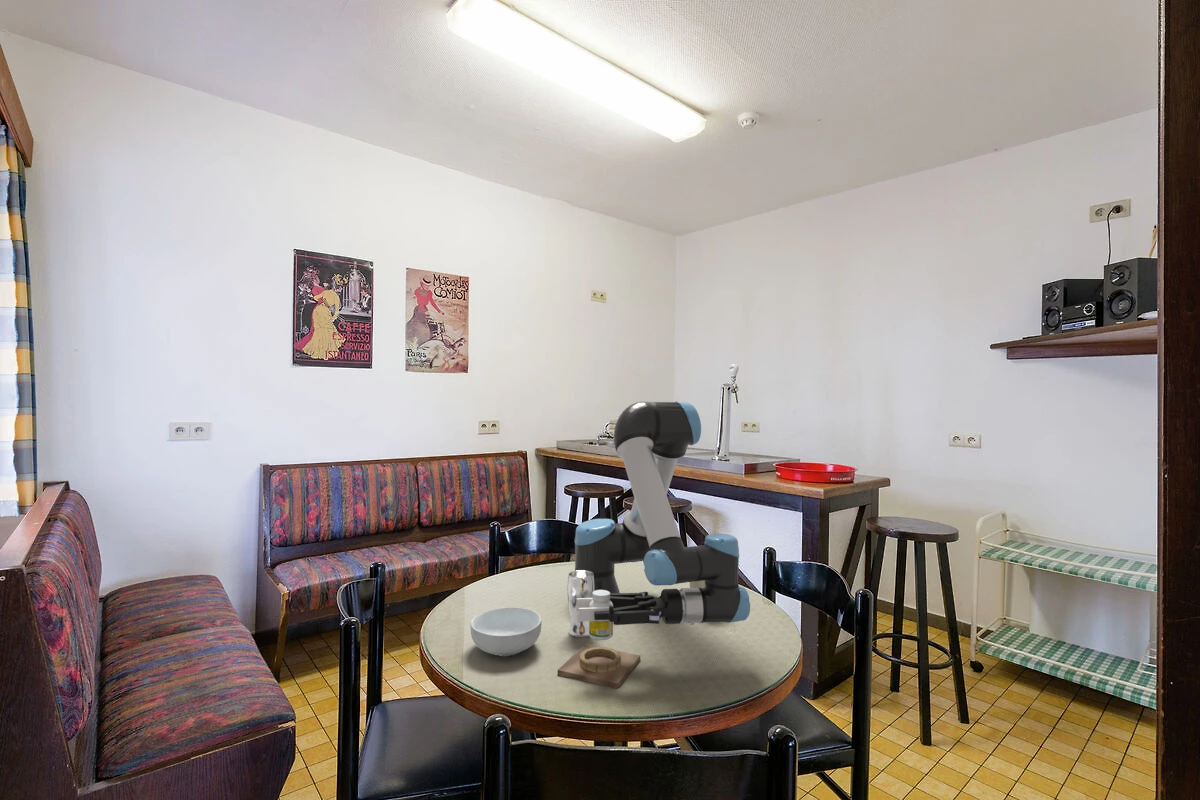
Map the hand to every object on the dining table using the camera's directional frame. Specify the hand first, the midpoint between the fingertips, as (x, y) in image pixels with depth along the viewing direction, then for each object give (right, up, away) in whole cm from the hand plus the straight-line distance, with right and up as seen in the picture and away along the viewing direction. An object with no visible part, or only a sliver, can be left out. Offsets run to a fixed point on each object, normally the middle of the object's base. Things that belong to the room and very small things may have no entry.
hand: (577, 609), depth 126 cm
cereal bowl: (-17, -13, +10) cm, 24 cm away
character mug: (+34, -13, +34) cm, 50 cm away
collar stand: (+5, -13, +1) cm, 14 cm away
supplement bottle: (+5, -6, +1) cm, 8 cm away
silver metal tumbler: (0, -13, +19) cm, 24 cm away
